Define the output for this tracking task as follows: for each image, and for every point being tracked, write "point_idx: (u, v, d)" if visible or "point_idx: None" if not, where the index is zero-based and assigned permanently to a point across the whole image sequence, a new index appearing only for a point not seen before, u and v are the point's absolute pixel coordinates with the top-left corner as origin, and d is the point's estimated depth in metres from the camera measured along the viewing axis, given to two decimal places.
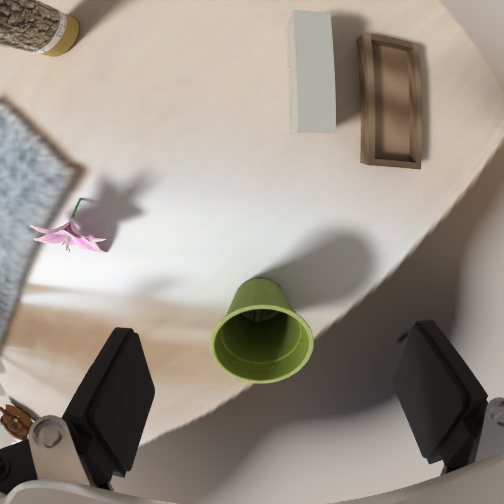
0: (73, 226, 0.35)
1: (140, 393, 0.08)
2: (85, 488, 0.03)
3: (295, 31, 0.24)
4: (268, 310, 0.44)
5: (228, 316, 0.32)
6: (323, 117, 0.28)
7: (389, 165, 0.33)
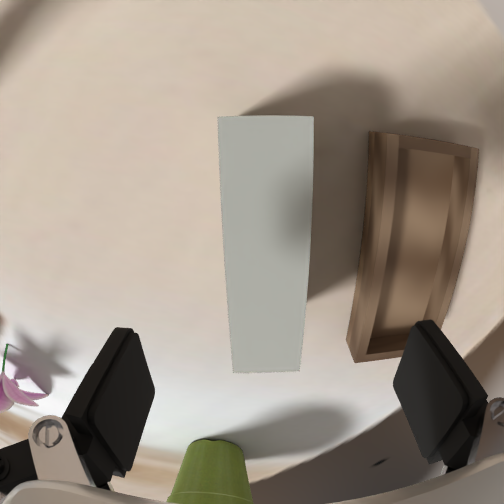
0: (5, 383, 0.24)
1: (140, 393, 0.08)
2: (85, 488, 0.03)
3: (222, 180, 0.13)
4: None
5: None
6: (278, 352, 0.16)
7: (386, 357, 0.22)
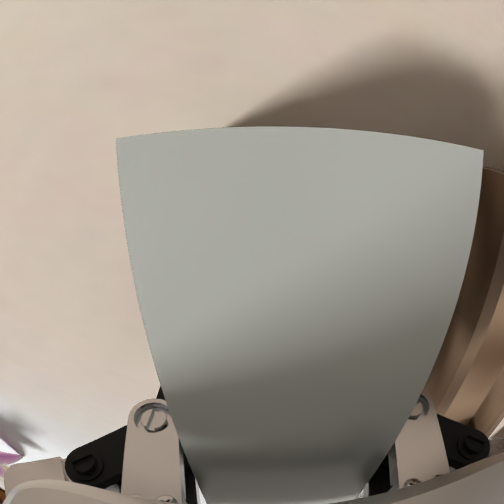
0: None
1: None
2: (85, 488, 0.03)
3: (162, 363, 0.04)
4: None
5: None
6: None
7: None
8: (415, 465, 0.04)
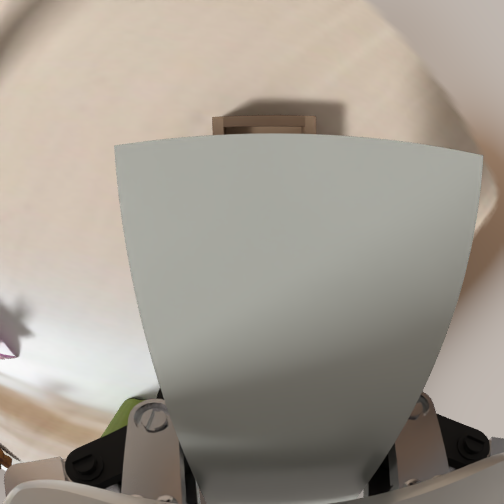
0: None
1: None
2: (85, 488, 0.03)
3: (162, 367, 0.04)
4: None
5: None
6: None
7: None
8: (415, 465, 0.04)
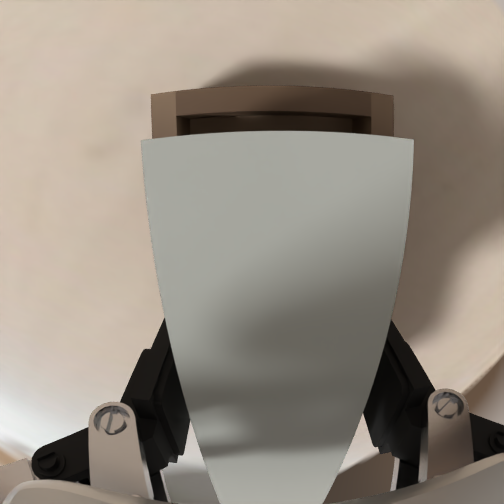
0: None
1: None
2: (85, 488, 0.03)
3: (169, 309, 0.05)
4: None
5: None
6: None
7: None
8: (457, 462, 0.04)
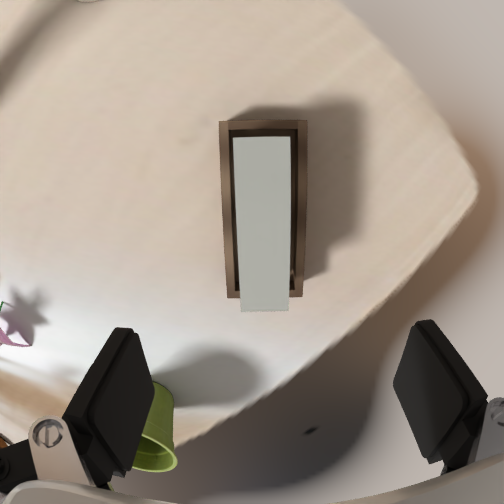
0: None
1: (140, 393, 0.09)
2: (85, 488, 0.03)
3: (236, 175, 0.21)
4: None
5: None
6: (273, 294, 0.25)
7: None
8: None
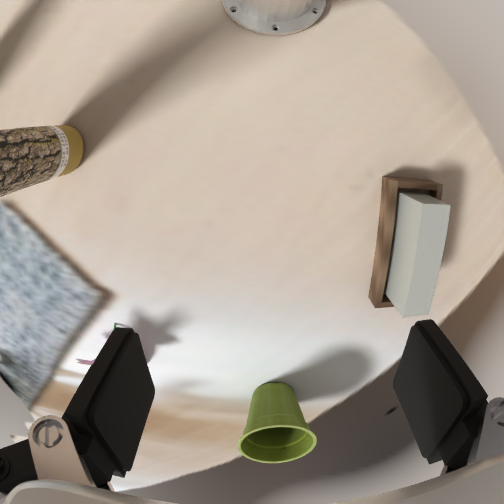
0: None
1: (140, 393, 0.08)
2: (85, 488, 0.03)
3: (420, 228, 0.29)
4: None
5: (253, 431, 0.36)
6: (423, 304, 0.32)
7: (393, 305, 0.38)
8: None
